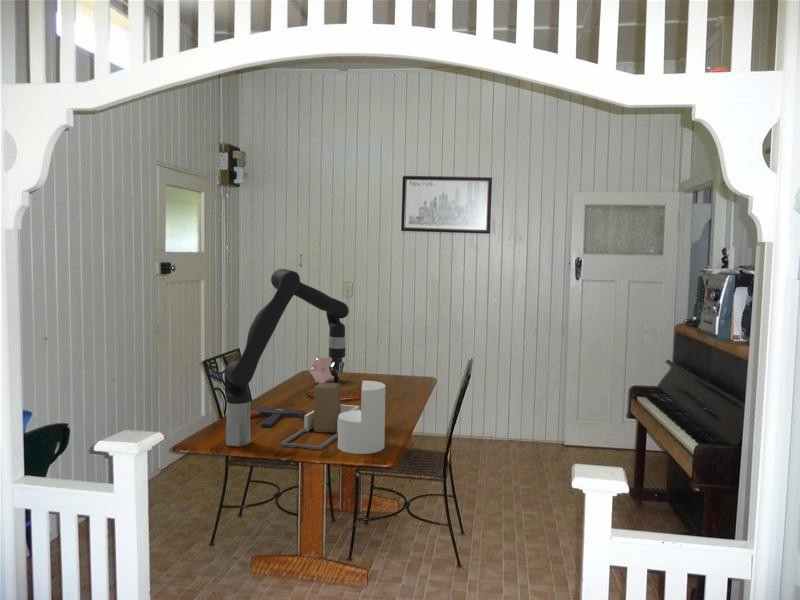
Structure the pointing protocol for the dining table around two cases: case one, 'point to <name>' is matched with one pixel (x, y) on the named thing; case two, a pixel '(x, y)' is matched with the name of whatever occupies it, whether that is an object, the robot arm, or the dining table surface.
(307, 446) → the frame
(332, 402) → the wooden block
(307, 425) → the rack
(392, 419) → the dining table surface
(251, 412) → the submachine gun
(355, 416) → the cylinder
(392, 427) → the dining table surface
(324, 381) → the piggy bank
